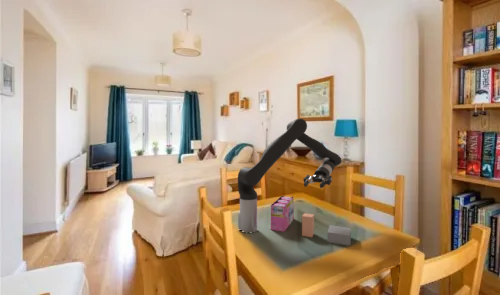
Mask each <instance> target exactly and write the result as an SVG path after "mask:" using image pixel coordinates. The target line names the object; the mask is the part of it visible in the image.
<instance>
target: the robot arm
mask: <svg viewBox="0 0 500 295" xmlns="http://www.w3.org/2000/svg"><path fill="white" fill-rule="evenodd" d="M307 129H308V123H307V121H306V120H305V119H303V118H296V119H294V120H292V121H290V122H288V123H287V125H286V131H285V132H283V133H282V134H280V135H279V136H278V137H276V138H275V139H274V140H273V141H271V142H270V143H269V144H268V145H267V146H266V147H265V148H264V150H263V153H262V155H261V158H260V160H259V161H258V162H257V163H256V164H255V165H253V166H252V167H248V166H246V167H245V166H244V167H242V168H240V170H239V172H238V175H237V190H238V194H239V211H238V213H237V216H238V217H237V219H238V221H237V222H238V223H237V226H238V227H237V228H239V229H241V230H242V231H244V232H254V233H257V231H258V193H257V191H256V189H255V186H257V185H258V184H259V183H260V181H261V180H262V178H263V177H265V175H266V173H267V172H268V171H269V170H270V169H271V168H272V166H273V165H274V164H275V163H276V162H277V161H278V160H279V159H280V158H281V157H282V156H283V155H284V154H285V152H286V151H287V150H288V149H289V148H291V145H292V144H294V142H295V141H299V142H300V143H301V144H303V145H305V146H306V147H307V148H309V150H311V152H313V153H314V154H315V155H316V156H317V157H318V158H319V159H321V160H323V159H324V160H323V161H322V164H321V165H320V166H319V167H318V168H317V169H315V171H314V173H313V175H310V174H307V175H306V176H305V177H304V178H303V185H304V187H305V188H306V187H307V186H309V184H314V183H319V188H320V189H322V188H324V187H325V186H326V185H328V186H330V185H331V183H332V181H333V176H332V175H331V174H333V173H332V172H334V170H335V167H338V166H339V165H341V164H342V158H341V157H340V154H337V153H336V152H334V151H332V150H330V149H328V148H327V147H326V146H325V145H324V144H323V143H321V141H319V140H317V139H315V138H313V137H311V136H309V135H308V134H306V133H305V132H306V130H307Z"/></svg>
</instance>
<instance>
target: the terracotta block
mask: <svg viewBox="0 0 500 295" xmlns="http://www.w3.org/2000/svg"><path fill="white" fill-rule="evenodd" d="M301 216H302V217H301V236H303V237H308V238H313V237H314V234H315V214H314V213H305V212H304V213H303V214H302V215H301Z"/></svg>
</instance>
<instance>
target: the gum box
mask: <svg viewBox="0 0 500 295" xmlns="http://www.w3.org/2000/svg"><path fill="white" fill-rule="evenodd" d="M294 206H295V205H294V196H291V197H290V196H285V195H281V196H280V197H278V198H277V199H276V200H275V201H273V203H272V204H270V230H271V231H276V232H277V231H278V232H284V233H285V231H286V230H287V229H288V227H290V225H291V223H292V222H293V220H294V219H295V211H294V210H295V207H294Z"/></svg>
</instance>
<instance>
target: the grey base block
mask: <svg viewBox="0 0 500 295" xmlns="http://www.w3.org/2000/svg"><path fill="white" fill-rule="evenodd" d="M351 234H352V228H351V227H347V226H346V227H345V226H337V225H330V224H329V226H328V230H327V243H332V244H337V245H343V246H349V245H352V244H351V243H352V242H351V240H352V239H351V238H352V236H351Z"/></svg>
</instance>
